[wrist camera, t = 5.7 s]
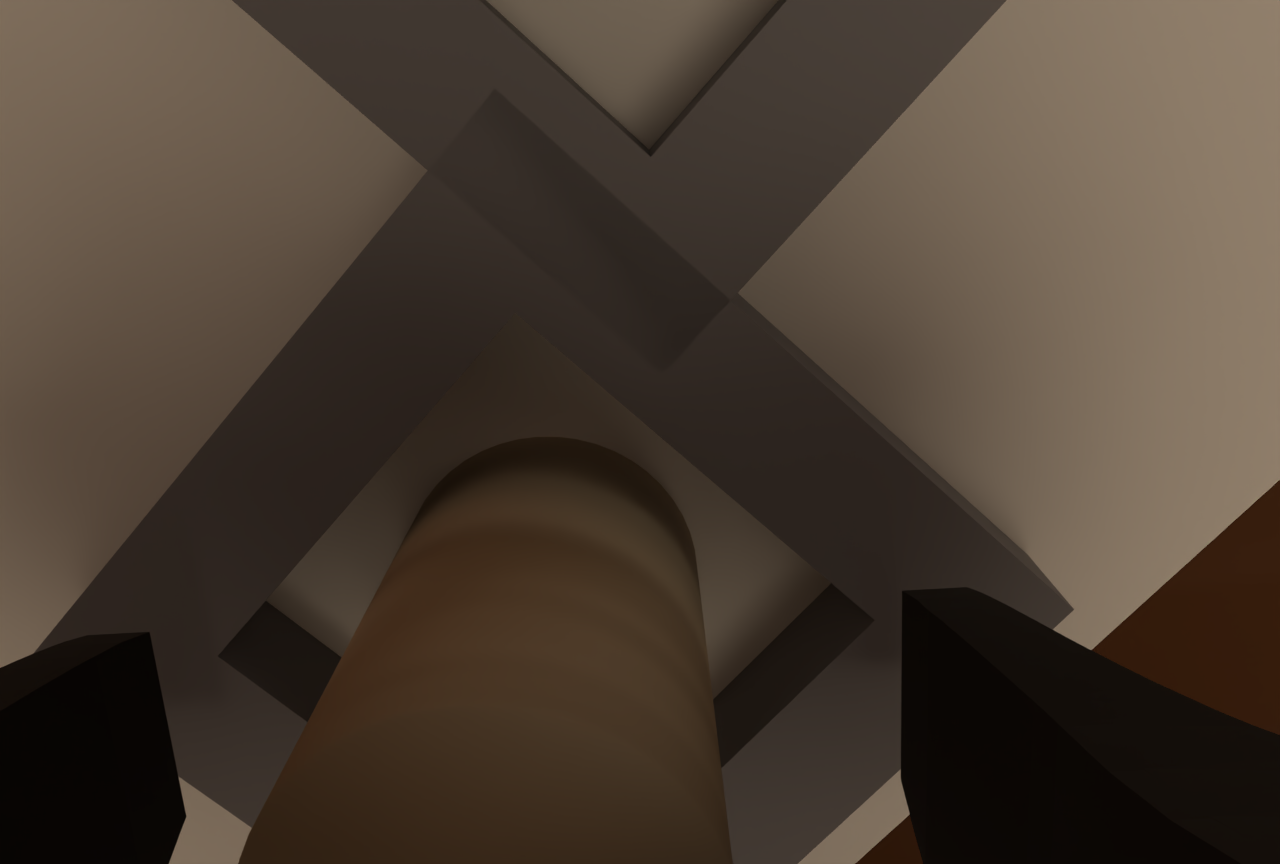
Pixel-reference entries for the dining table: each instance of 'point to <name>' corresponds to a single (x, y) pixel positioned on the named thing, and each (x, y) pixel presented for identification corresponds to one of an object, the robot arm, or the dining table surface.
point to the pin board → (628, 332)
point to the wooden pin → (518, 684)
